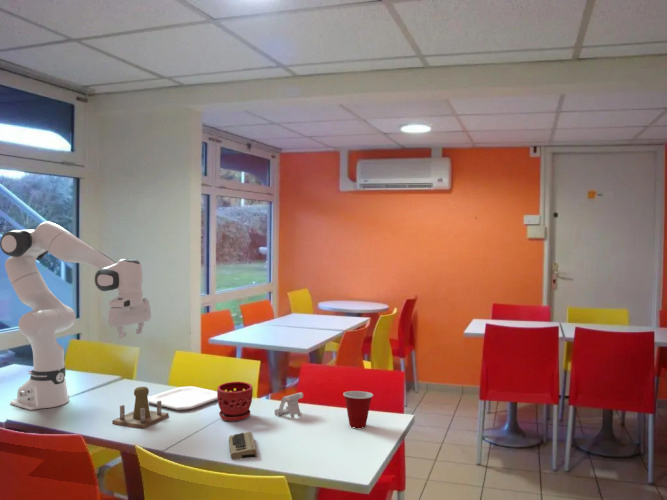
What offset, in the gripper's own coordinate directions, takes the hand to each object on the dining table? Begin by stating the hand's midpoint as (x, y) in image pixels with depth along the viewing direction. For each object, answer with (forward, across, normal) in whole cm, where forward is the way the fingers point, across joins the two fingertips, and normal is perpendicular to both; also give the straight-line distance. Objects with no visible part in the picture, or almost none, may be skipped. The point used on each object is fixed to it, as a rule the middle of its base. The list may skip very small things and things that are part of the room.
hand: (130, 335), depth 219 cm
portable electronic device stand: (+30, -16, +61) cm, 70 cm away
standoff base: (+29, +9, +12) cm, 33 cm away
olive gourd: (+28, +9, +12) cm, 32 cm away
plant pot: (+29, -6, +43) cm, 52 cm away
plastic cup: (+29, -14, +89) cm, 95 cm away
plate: (+30, -17, +13) cm, 37 cm away
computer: (+30, +20, +61) cm, 70 cm away
